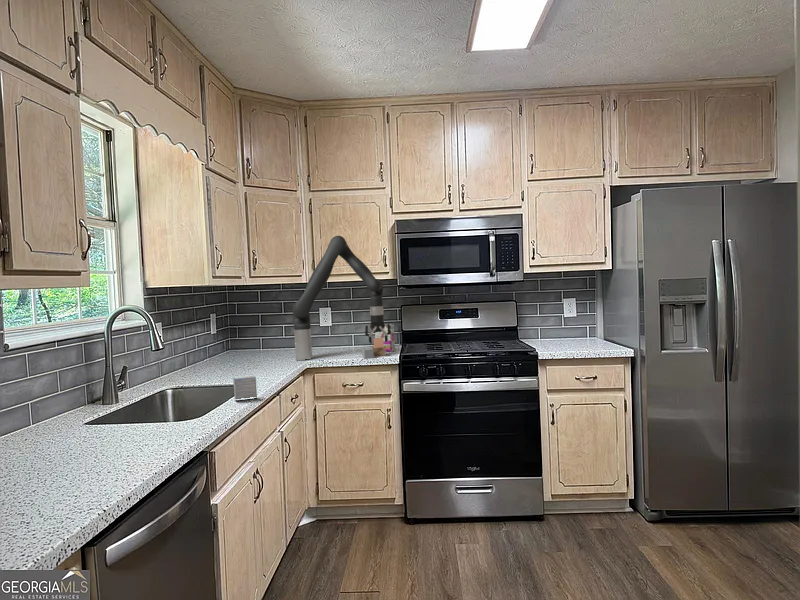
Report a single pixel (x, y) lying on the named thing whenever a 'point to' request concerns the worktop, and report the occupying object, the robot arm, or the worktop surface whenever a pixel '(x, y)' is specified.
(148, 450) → the worktop surface
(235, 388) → the medicine box
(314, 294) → the robot arm
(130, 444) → the worktop surface
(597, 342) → the worktop surface
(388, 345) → the candy bar box
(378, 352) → the walnut block
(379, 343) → the terracotta cube
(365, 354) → the slate cube
